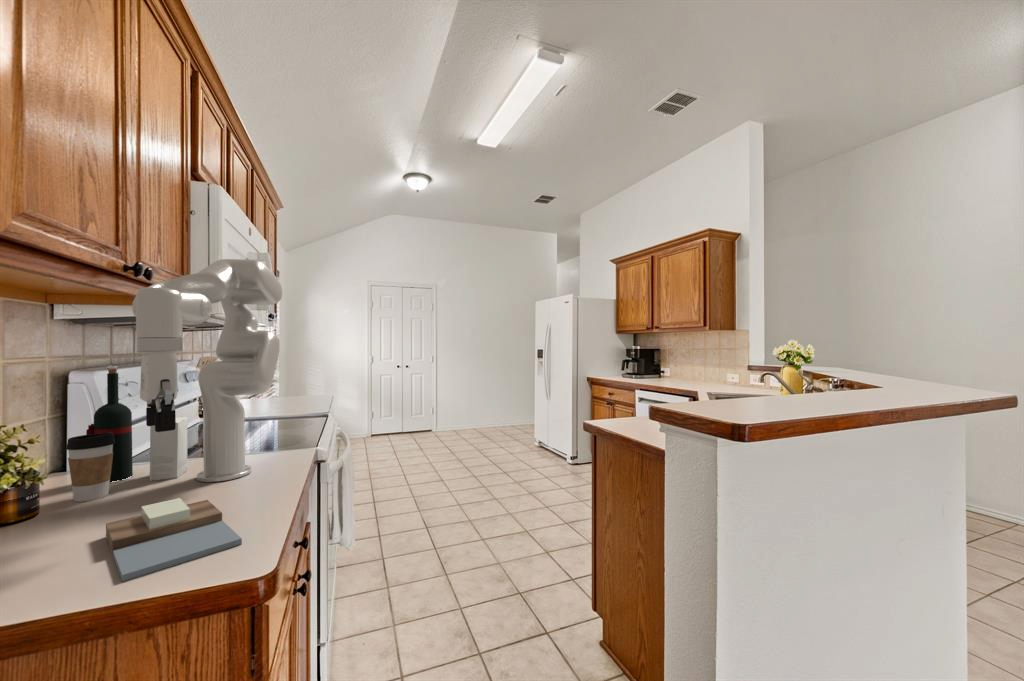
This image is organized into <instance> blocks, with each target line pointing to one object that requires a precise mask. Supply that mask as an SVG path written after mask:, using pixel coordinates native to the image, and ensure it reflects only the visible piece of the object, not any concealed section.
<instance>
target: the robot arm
mask: <svg viewBox="0 0 1024 681" xmlns="http://www.w3.org/2000/svg"><path fill="white" fill-rule="evenodd" d="M282 297H283V287H282V284H281V281H279V279H278V278H277V277H276V275H275V273H273V271H271V269H270V268H269V267H268V266H267V265H265V264H264V263H263V262H262V261H260V260H256V259H242V258H241V259H236V258H235V259H233V258H224V259H218V260H216V261H214V262H212V263H210V264H209V265H207V266H206V267H204V268H203V269H201V270H199V271H198V272H195V273H191V274H187V275H186V274H185V275H183V276H178V277H175V278H174V277H173V278H170V279H166V280H165V279H164V280H162V281H159V282H156V283H153V284H151V285H149V286H148V287H141V288H140V289H138V290H137V292H136V295H135V297H134V299H133V301H132V306H131V308H132V314H133V316H134V317H135V320H136V321H135V325H136V328H135V329H136V330H135V331H136V332H135V333H136V335H135V338H136V343H135V344H136V347H135V348H136V355H142V356H141V363H140V364H141V366H140V385H139V386H140V390H139V398H140V399H141V400H142V401H144V402H146V408H145V411H146V412H145V413H146V415H145V416H146V422H145V423H146V424H145V425H146V426H147V427H150V426H155V431H156V432H163V431H171V430H175V428H176V405H175V400H176V399H177V397H178V361H177V354H183V352H184V351H183V326H184V325H187V326H188V325H189V326H191V325H201V324H203V323H205V322H207V321H208V320H209V319H210V318H211V317H212V314H213V304H217V303H219V302H220V303H221V307H222V309H223V313H224V316H225V320H224V323H223V327H222V329H221V332H220V335H219V338H218V341H217V344H216V347H215V354H216V357H217V358H218V359H219V360H216V361H213V362H208V363H206V364H205V365H203V366H202V367H201V368H200V369H199V372H198V378H197V380H198V386H199V390H200V394H201V402H202V412H203V413H202V415H203V416H202V418H203V419H202V420H203V422H202V425H203V426H202V427H203V428H202V430H203V431H202V432H203V433H202V434H203V436H202V438H203V440H202V442H203V451H202V452H203V471H200V472H199V473H197V474H196V481H198V482H201V483H214V482H215V483H216V482H218V483H219V482H223V481H224V482H226V481H230V480H234V479H239V478H243V477H245V476H246V475H249V474H250V473H252V466H250V465H247V464H246V453H245V452H246V443H245V442H246V440H245V439H246V438H245V437H246V431H245V430H246V427H245V425H246V424H245V423H246V422H245V420H246V419H245V416H246V415H245V408H244V406H243V404H242V403H241V402H240V400H239V399H238V398H237V397H236V396H248V395H249V396H251V395H262V394H266V393H267V392H268V391H269V390H270V389H271V388H272V384H273V380H274V376H275V372H276V368H277V364H278V360H279V356H280V355H279V354H280V347H281V346H280V341H279V338H278V335H277V334H275V333H274V332H273V331H270V330H258V327H259V321H258V319H257V318H256V316H255V315H254V314H253V312H251V311H250V310H249V309H248V308H247V307H246V305H251V306H252V305H255V306H256V305H257V306H258V305H260V306H263V305H264V306H265V305H267V306H268V305H276V304H278V303H279V302H280V301H281V300H282Z"/></svg>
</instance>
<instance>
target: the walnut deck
mask: <svg viewBox="0 0 1024 681" xmlns="http://www.w3.org/2000/svg"><path fill="white" fill-rule="evenodd" d="M186 505H187V506H188V507H189V508H190V519H189V520H186V521H182V522H178V523H174V524H170V525H166V526H162V527H158V528H154V529H150V530H149V528H148V526H147V525H146V523H145V522H144V520H143V518H142V516H141V515H136V516H132V517H128V518H127V517H126V518H124V519H120V520H115V521H112V522H106V523H105V538H106V540H107V544H108V545H109V546H108V547H109V549H110V552H111V556H113V550H116V549H119V548H123V547H127V546H130V545H134V544H138V543H141V542H145V541H149V540H153V539H156V538H160V537H164V536H167V535H171V534H175V533H178V532H182V531H186V530H189V529H193V528H197V527H201V526H204V525H208V524H212V523H215V522H219V521H223V512H222V511H221V510H220V509H218V507H216V506H215V505H214V504H213V503H212V502H211V501H209V500H208V499H204V500H200V501H197V502H192V503H188V504H187V503H186Z"/></svg>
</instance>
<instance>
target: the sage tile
mask: <svg viewBox="0 0 1024 681" xmlns="http://www.w3.org/2000/svg"><path fill="white" fill-rule="evenodd" d="M141 516H142V518H143V520H144V522H145V523H146V525H147V526H148V528H149V530H150V529H154V528H158V527H162V526H166V525H170V524H174V523H178V522H182V521H186V520H189V519H190V508H189V507H188V506H187V503H185V502H184V501H183V500H182V499H181V498H180V497H179V498H173V499H170V500H164V501H161V502H160V501H159V502H155V503H151V504H147V505H142V506H141Z"/></svg>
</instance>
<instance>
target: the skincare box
mask: <svg viewBox="0 0 1024 681" xmlns="http://www.w3.org/2000/svg"><path fill="white" fill-rule="evenodd" d="M175 417H176V416H175ZM188 420H189V419H188V416H180V417H176V428H175V430H171V431H163V432H156V431H155V426H149V427H150V429H149V430H150V431H149V432H150V433H149V435H150V436H149V437H150V438H149V443H150V444H149V481H150V480H154V481H159V480H158V479H164V480H170V479H169V478H175V479H178V478H179V477H180V476H181V475H183V474H184V473H185V472H187V470H188V422H189V421H188Z"/></svg>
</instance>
